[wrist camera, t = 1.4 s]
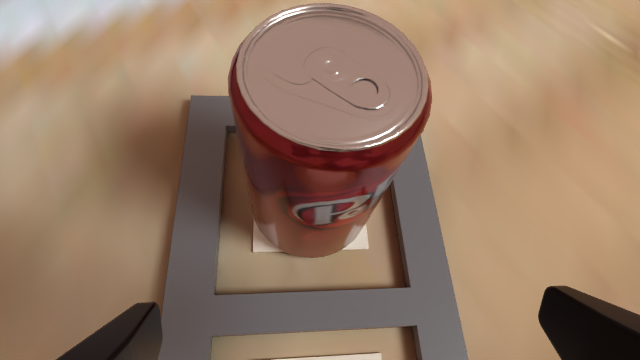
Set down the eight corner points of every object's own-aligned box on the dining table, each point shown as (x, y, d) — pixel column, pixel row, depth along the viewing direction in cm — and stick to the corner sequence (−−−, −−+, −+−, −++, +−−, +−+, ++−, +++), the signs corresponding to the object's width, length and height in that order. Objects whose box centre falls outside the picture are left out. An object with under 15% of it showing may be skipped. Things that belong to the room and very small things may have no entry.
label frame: (506, 579, 16) (517, 589, 15) (125, 631, 14) (117, 645, 13) (409, 106, 27) (413, 99, 27) (193, 102, 26) (191, 95, 25)
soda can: (227, 203, 22) (178, 60, 12) (308, 136, 25) (327, -29, 14) (311, 287, 21) (344, 207, 10) (388, 204, 23) (478, 73, 13)
